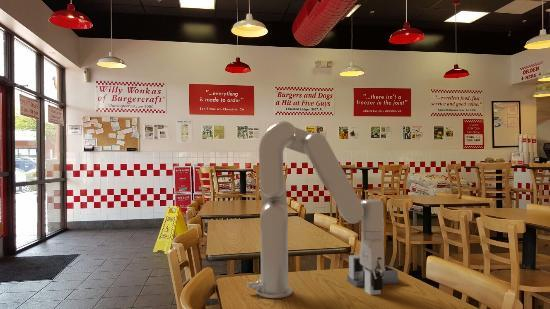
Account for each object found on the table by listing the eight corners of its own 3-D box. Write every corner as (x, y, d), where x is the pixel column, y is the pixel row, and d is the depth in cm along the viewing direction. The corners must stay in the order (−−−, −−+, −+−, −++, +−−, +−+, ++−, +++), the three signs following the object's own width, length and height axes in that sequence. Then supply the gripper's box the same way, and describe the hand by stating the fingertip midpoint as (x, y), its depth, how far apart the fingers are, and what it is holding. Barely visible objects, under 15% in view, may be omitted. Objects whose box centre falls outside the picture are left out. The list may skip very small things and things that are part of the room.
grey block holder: (356, 286, 147) (355, 259, 147) (346, 280, 155) (346, 254, 155) (398, 283, 151) (398, 256, 151) (387, 277, 159) (387, 251, 159)
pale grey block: (370, 295, 138) (370, 271, 138) (364, 291, 142) (364, 268, 142) (381, 294, 139) (381, 270, 139) (375, 290, 143) (375, 267, 143)
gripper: (351, 231, 148) (352, 280, 148) (374, 240, 132) (374, 295, 131) (370, 230, 150) (370, 278, 150) (395, 239, 133) (395, 293, 133)
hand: (372, 286), depth 141 cm, fingers open, 6 cm apart
